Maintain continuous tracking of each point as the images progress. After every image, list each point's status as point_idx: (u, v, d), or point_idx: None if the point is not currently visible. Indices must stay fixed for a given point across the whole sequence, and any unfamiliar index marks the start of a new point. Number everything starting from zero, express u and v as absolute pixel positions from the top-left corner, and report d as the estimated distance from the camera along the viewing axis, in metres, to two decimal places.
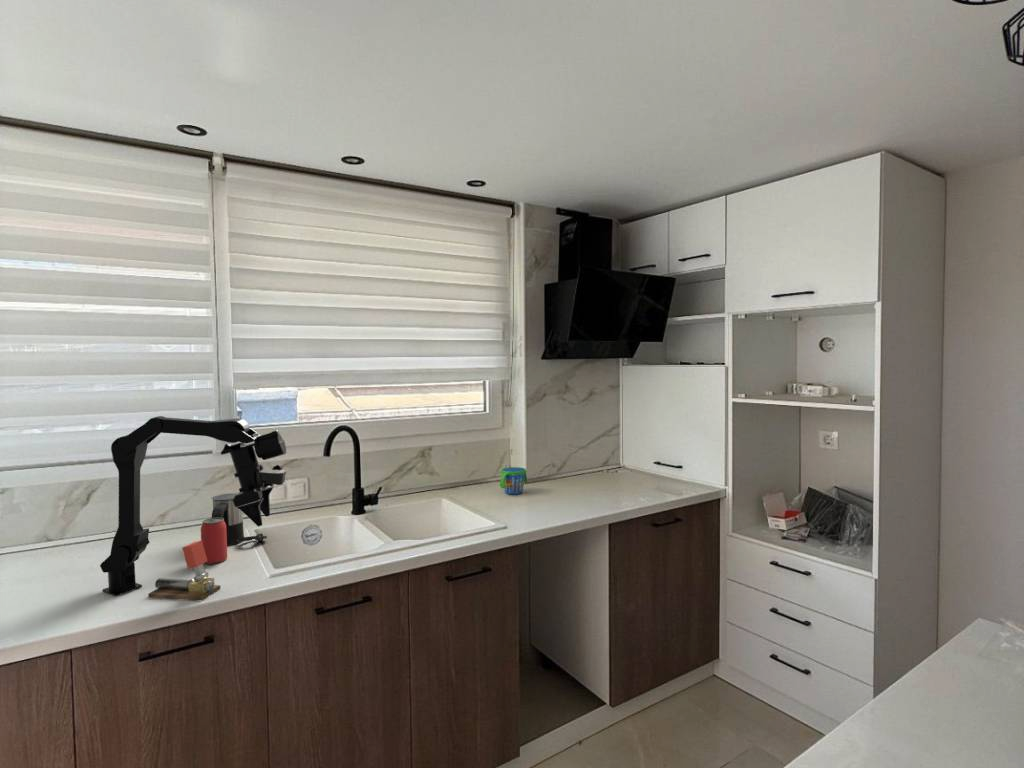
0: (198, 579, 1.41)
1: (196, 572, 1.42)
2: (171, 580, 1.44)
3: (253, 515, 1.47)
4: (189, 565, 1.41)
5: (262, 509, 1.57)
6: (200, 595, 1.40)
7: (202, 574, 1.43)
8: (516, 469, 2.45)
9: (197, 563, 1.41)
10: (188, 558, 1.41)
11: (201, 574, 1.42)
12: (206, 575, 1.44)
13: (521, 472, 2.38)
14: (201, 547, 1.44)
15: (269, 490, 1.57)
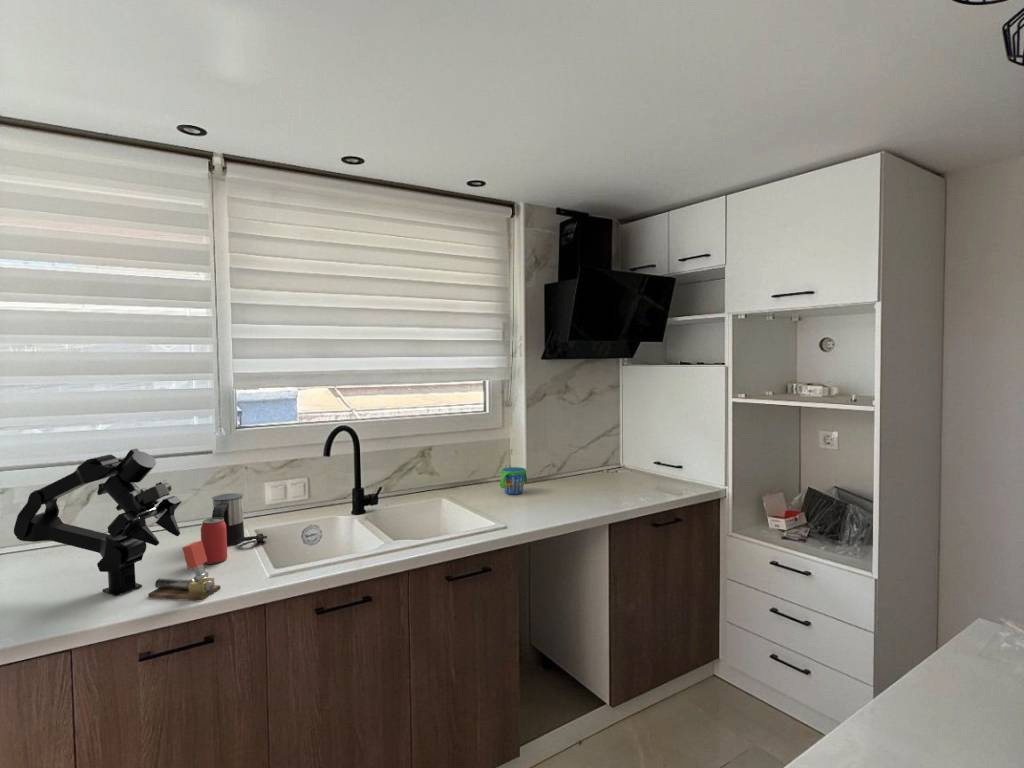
0: (198, 579, 1.41)
1: (196, 572, 1.42)
2: (171, 580, 1.44)
3: (144, 537, 1.40)
4: (189, 565, 1.41)
5: (170, 531, 1.48)
6: (200, 595, 1.40)
7: (202, 574, 1.43)
8: (516, 469, 2.45)
9: (197, 563, 1.41)
10: (188, 558, 1.41)
11: (201, 574, 1.42)
12: (206, 575, 1.44)
13: (521, 472, 2.38)
14: (201, 547, 1.44)
15: (168, 510, 1.48)
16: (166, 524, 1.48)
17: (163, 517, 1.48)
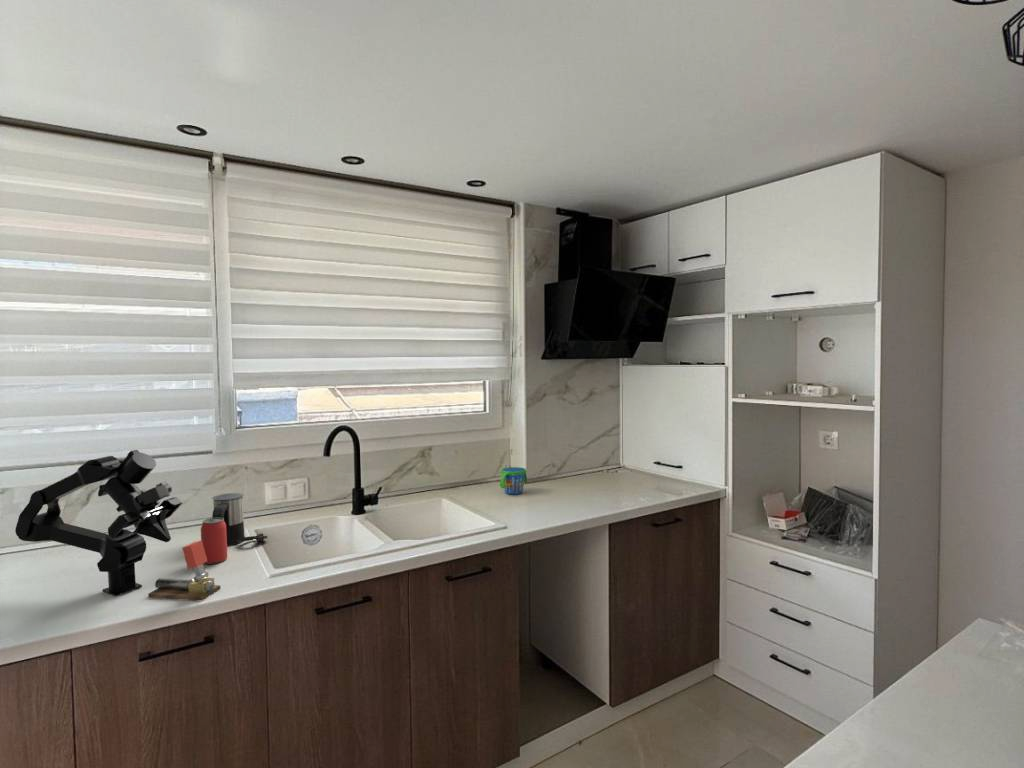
0: (198, 579, 1.41)
1: (196, 572, 1.42)
2: (171, 580, 1.44)
3: (154, 534, 1.43)
4: (189, 565, 1.41)
5: None
6: (200, 595, 1.40)
7: (202, 574, 1.43)
8: (516, 469, 2.45)
9: (197, 563, 1.41)
10: (188, 558, 1.41)
11: (201, 574, 1.42)
12: (206, 575, 1.44)
13: (521, 472, 2.38)
14: (201, 547, 1.44)
15: (158, 515, 1.45)
16: None
17: None
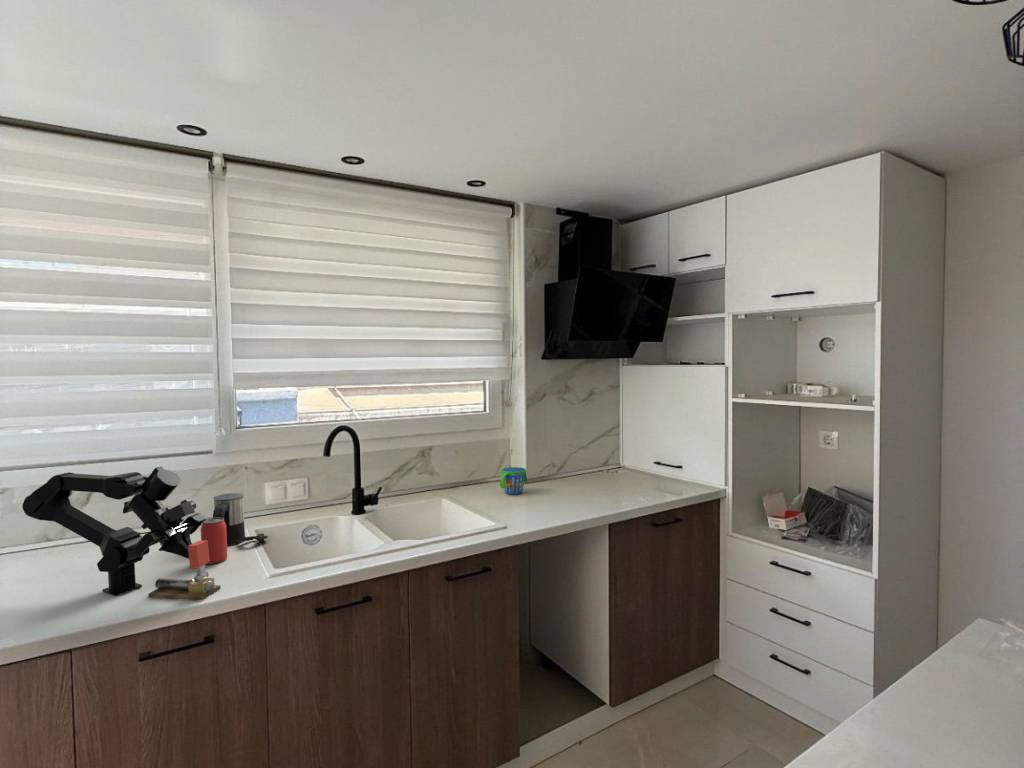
0: (198, 579, 1.41)
1: (197, 572, 1.42)
2: (171, 580, 1.44)
3: (180, 551, 1.42)
4: (192, 565, 1.41)
5: None
6: (200, 595, 1.40)
7: (202, 574, 1.43)
8: (516, 469, 2.45)
9: (200, 564, 1.41)
10: (192, 558, 1.41)
11: (201, 574, 1.42)
12: (206, 576, 1.44)
13: (521, 472, 2.38)
14: (206, 547, 1.44)
15: (183, 532, 1.44)
16: None
17: None
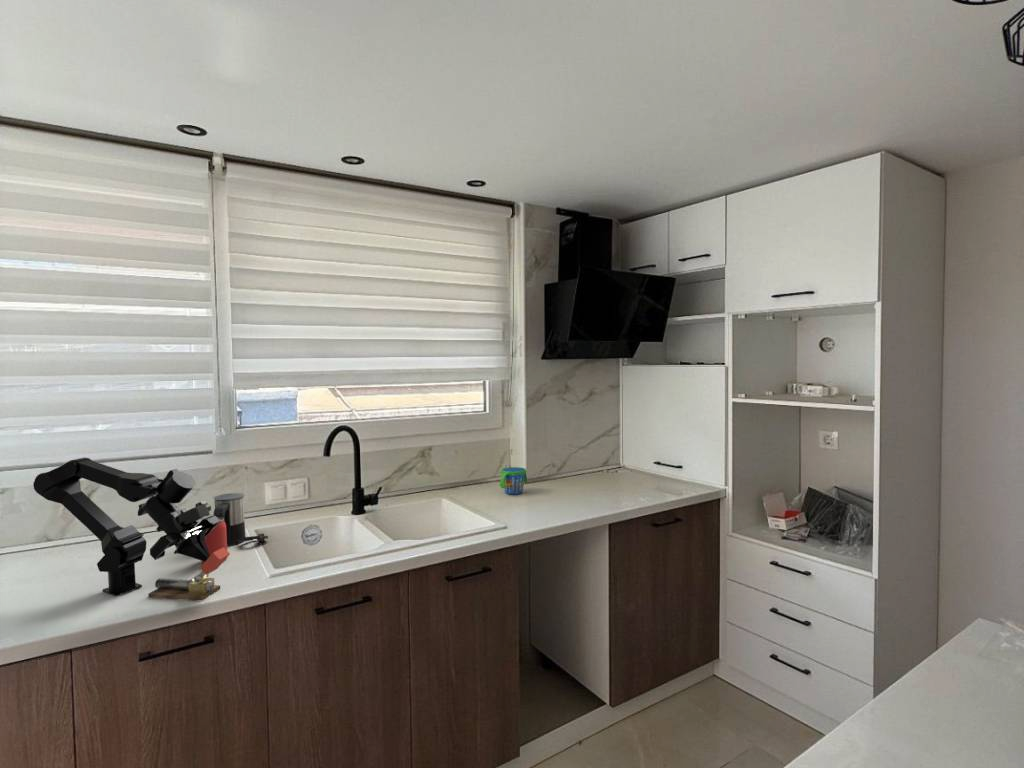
0: (197, 580, 1.41)
1: (201, 573, 1.42)
2: (171, 580, 1.44)
3: (195, 554, 1.41)
4: (203, 567, 1.41)
5: None
6: (200, 595, 1.40)
7: (203, 577, 1.43)
8: (516, 469, 2.45)
9: (209, 572, 1.41)
10: (208, 563, 1.40)
11: (202, 577, 1.42)
12: (205, 577, 1.44)
13: (521, 472, 2.38)
14: (224, 559, 1.43)
15: (198, 534, 1.43)
16: None
17: None
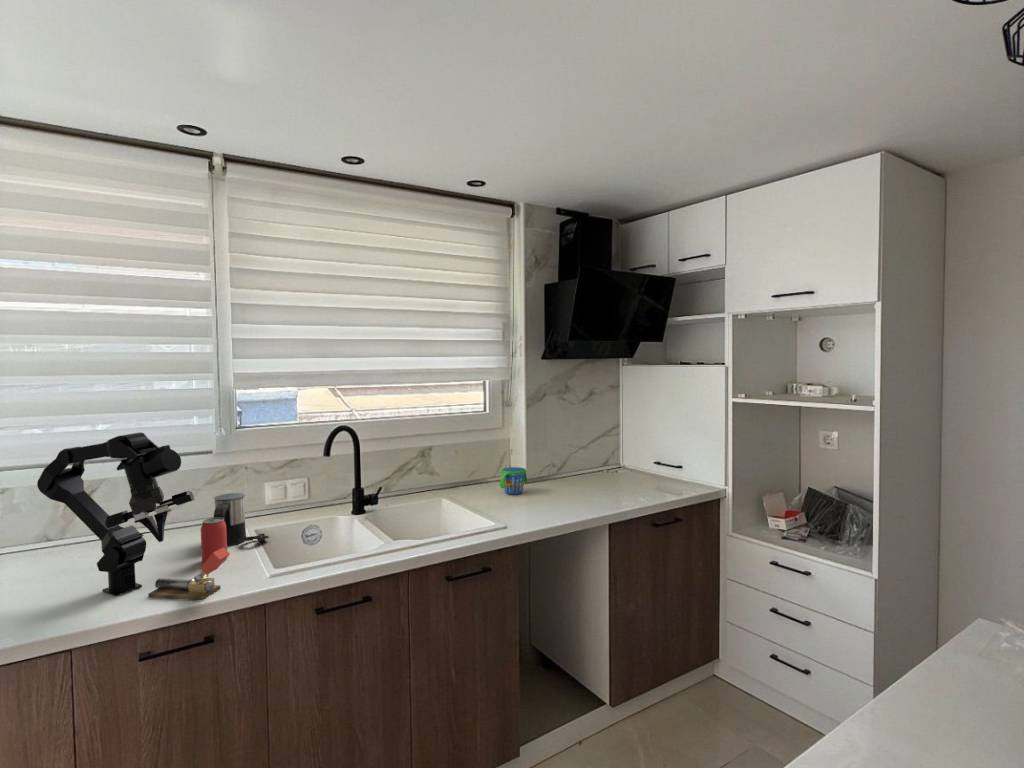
0: (197, 580, 1.41)
1: (201, 573, 1.42)
2: (171, 580, 1.44)
3: None
4: (203, 567, 1.41)
5: None
6: (200, 595, 1.40)
7: (203, 577, 1.43)
8: (516, 469, 2.45)
9: (209, 572, 1.41)
10: (208, 563, 1.40)
11: (202, 577, 1.42)
12: (205, 577, 1.44)
13: (521, 472, 2.38)
14: (224, 559, 1.43)
15: None
16: None
17: None
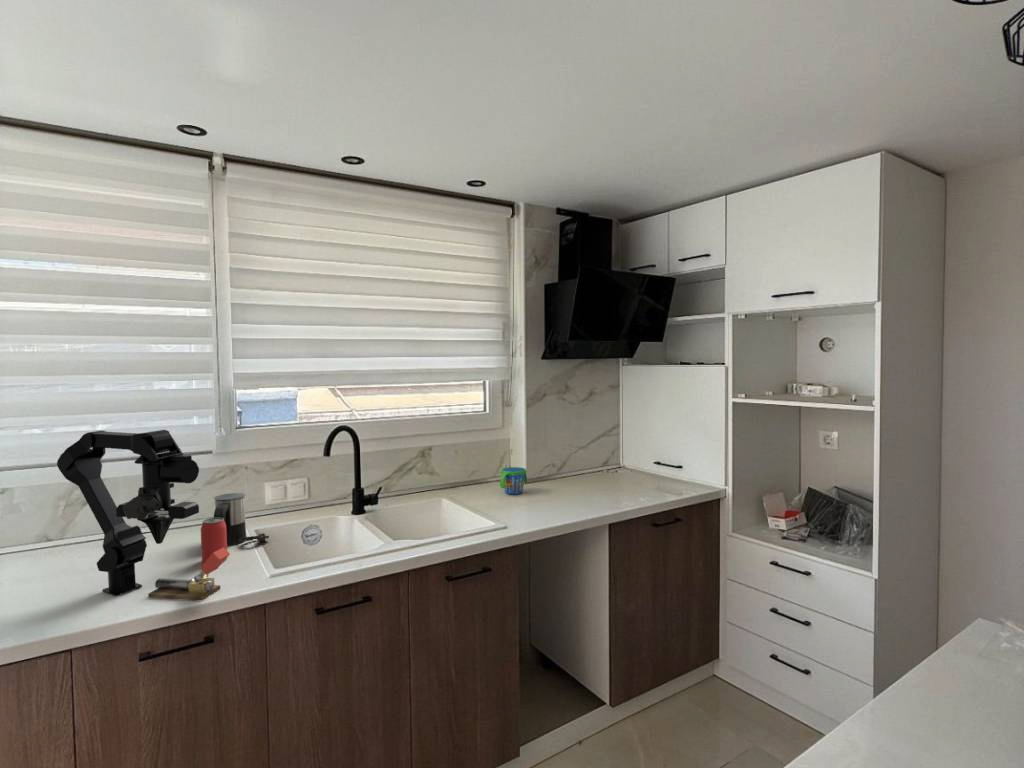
0: (197, 580, 1.41)
1: (201, 573, 1.42)
2: (171, 580, 1.44)
3: None
4: (203, 567, 1.41)
5: None
6: (200, 595, 1.40)
7: (203, 577, 1.43)
8: (516, 469, 2.45)
9: (209, 572, 1.41)
10: (208, 563, 1.40)
11: (202, 577, 1.42)
12: (205, 577, 1.44)
13: (521, 472, 2.38)
14: (224, 559, 1.43)
15: None
16: None
17: None
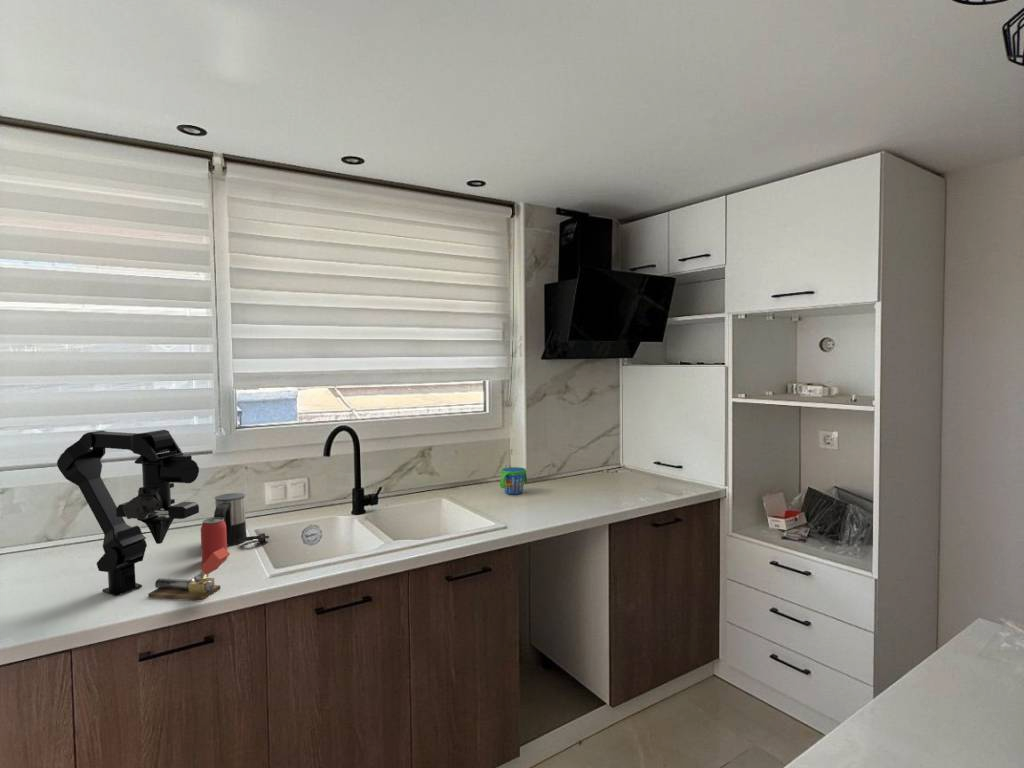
0: (197, 580, 1.41)
1: (201, 573, 1.42)
2: (171, 580, 1.44)
3: None
4: (203, 567, 1.41)
5: None
6: (200, 595, 1.40)
7: (203, 577, 1.43)
8: (516, 469, 2.45)
9: (209, 572, 1.41)
10: (208, 563, 1.40)
11: (202, 577, 1.42)
12: (205, 577, 1.44)
13: (521, 472, 2.38)
14: (224, 559, 1.43)
15: None
16: None
17: None
